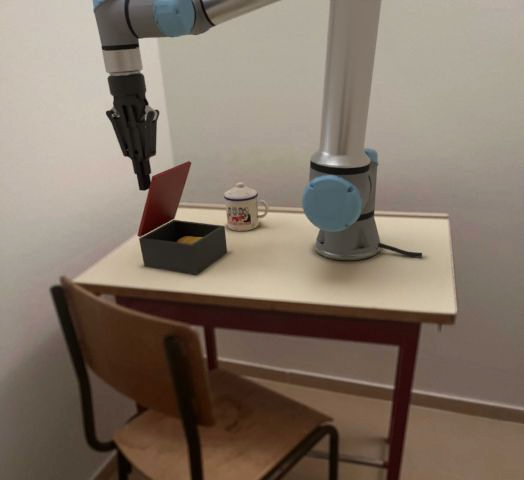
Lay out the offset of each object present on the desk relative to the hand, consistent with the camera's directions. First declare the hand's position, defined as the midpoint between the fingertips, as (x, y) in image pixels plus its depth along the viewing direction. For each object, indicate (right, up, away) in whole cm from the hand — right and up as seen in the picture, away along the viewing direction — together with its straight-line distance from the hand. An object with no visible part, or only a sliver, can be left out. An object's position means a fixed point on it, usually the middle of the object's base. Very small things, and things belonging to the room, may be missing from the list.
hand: (145, 188), depth 119 cm
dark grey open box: (+9, -15, +5) cm, 18 cm away
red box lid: (+5, -3, -1) cm, 6 cm away
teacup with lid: (+23, -3, +23) cm, 33 cm away
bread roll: (+10, -14, +4) cm, 18 cm away
